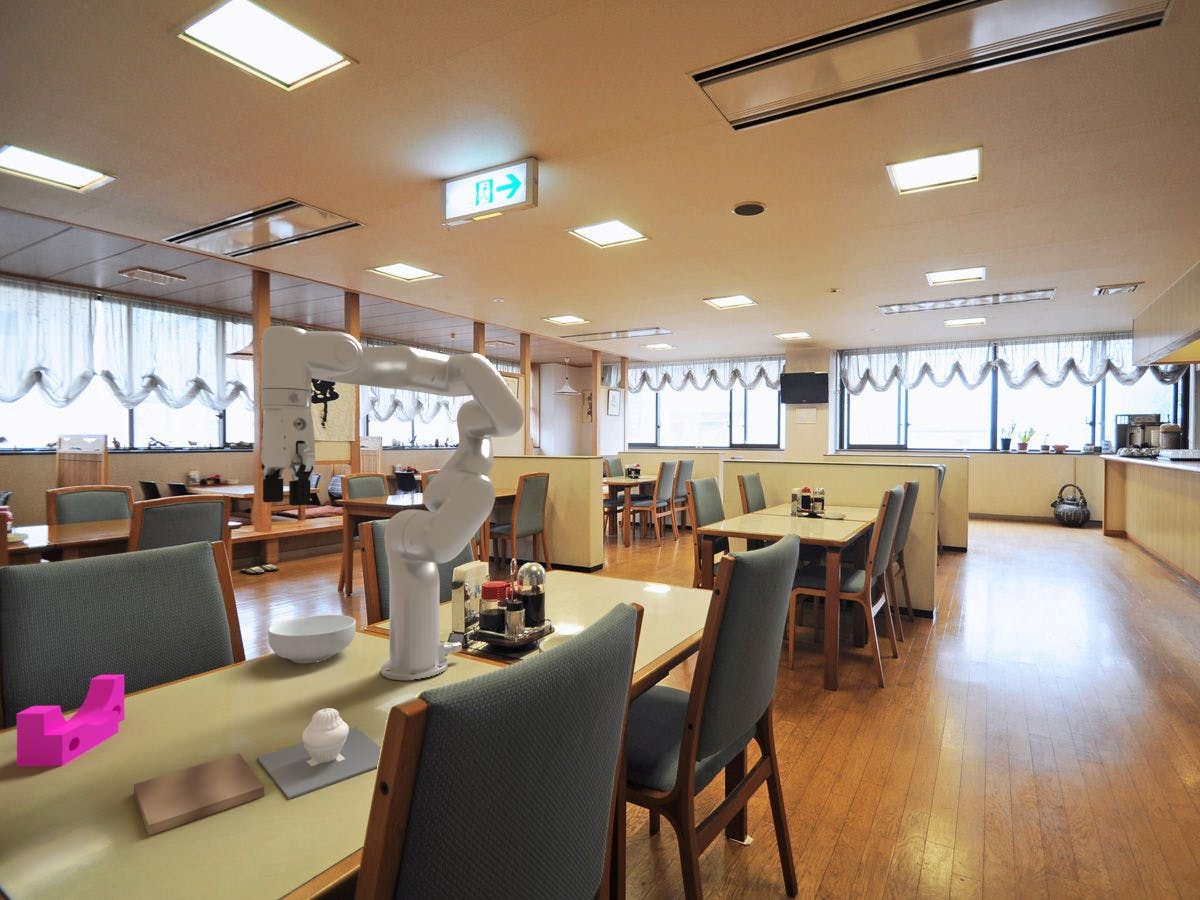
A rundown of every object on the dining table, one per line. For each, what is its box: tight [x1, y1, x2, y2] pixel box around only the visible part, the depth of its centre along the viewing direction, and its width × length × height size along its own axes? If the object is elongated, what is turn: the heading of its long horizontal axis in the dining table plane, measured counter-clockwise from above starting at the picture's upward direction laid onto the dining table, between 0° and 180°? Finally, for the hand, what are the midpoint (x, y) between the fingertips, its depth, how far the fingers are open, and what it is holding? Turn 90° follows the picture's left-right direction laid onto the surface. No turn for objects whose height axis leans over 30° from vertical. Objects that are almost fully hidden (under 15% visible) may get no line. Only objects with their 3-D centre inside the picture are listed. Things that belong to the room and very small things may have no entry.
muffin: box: [301, 707, 350, 763], centre depth 89 cm, size 6×6×7 cm
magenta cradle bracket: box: [16, 674, 125, 767], centre depth 95 cm, size 15×6×8 cm, turn 1°
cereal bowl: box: [267, 614, 357, 664], centre depth 133 cm, size 17×17×7 cm
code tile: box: [256, 727, 382, 800], centre depth 89 cm, size 14×14×1 cm
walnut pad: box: [133, 752, 265, 836], centre depth 80 cm, size 12×12×1 cm
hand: (286, 503), depth 106 cm, fingers open, 9 cm apart
